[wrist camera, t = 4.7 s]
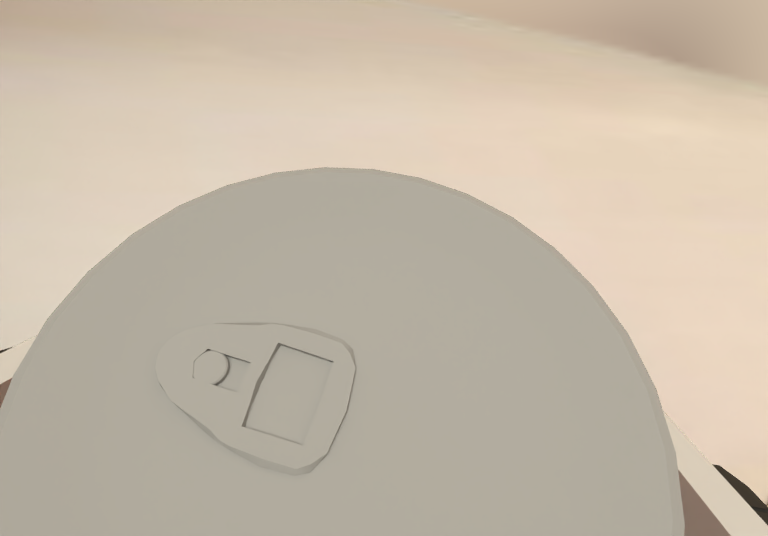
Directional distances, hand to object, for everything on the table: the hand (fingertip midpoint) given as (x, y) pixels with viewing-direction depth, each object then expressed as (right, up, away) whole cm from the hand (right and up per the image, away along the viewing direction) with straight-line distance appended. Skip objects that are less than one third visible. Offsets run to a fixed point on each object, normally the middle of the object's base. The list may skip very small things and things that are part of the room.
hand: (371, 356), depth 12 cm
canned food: (-1, -4, +3) cm, 5 cm away
